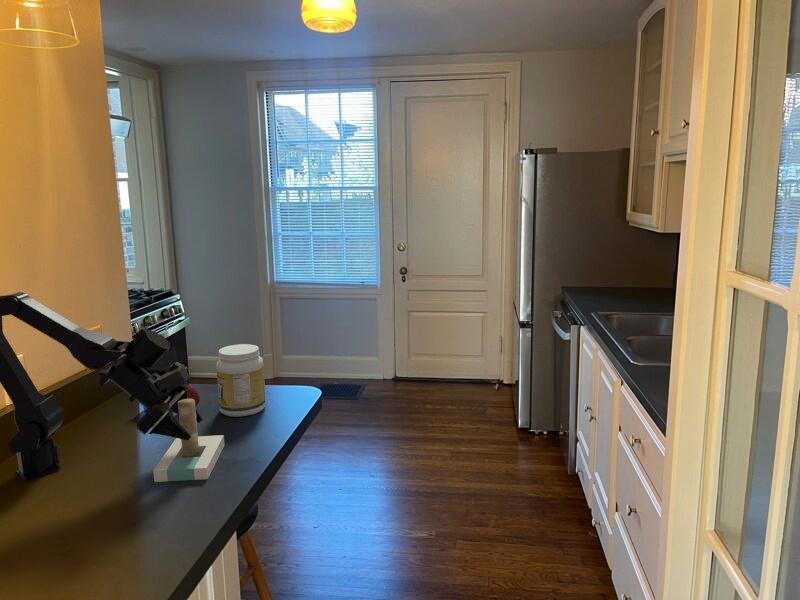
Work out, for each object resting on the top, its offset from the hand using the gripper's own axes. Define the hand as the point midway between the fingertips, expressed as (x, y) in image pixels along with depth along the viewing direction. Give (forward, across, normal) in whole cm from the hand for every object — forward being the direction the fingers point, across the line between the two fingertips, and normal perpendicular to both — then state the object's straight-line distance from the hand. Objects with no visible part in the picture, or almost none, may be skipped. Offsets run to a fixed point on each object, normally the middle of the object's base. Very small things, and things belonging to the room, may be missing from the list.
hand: (195, 429), depth 124 cm
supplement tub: (+8, +30, +3) cm, 32 cm away
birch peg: (+4, 0, +6) cm, 8 cm away
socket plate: (+4, 0, +6) cm, 8 cm away
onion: (-2, +31, +13) cm, 33 cm away
